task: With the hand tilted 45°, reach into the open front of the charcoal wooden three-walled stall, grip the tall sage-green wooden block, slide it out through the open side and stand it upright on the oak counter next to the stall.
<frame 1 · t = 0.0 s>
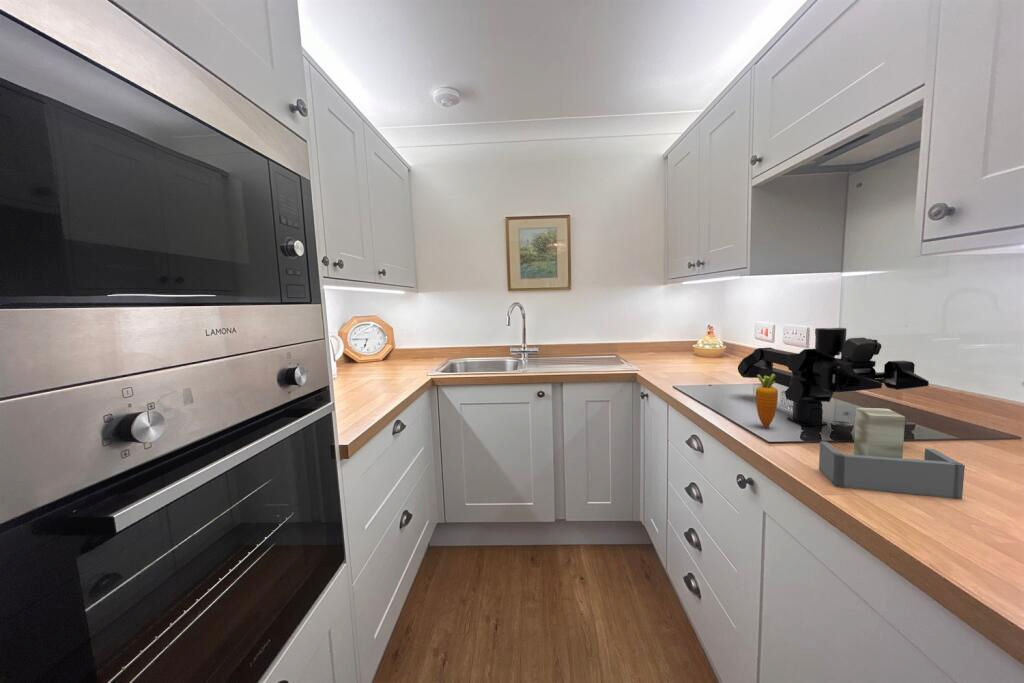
hand: (904, 384, 75), 17 cm above the table, tool horizontal, fingers open, 9 cm apart
sage block: (877, 444, 71), in the stall
stall: (875, 476, 71), on the table
carrot: (766, 428, 99), on the table
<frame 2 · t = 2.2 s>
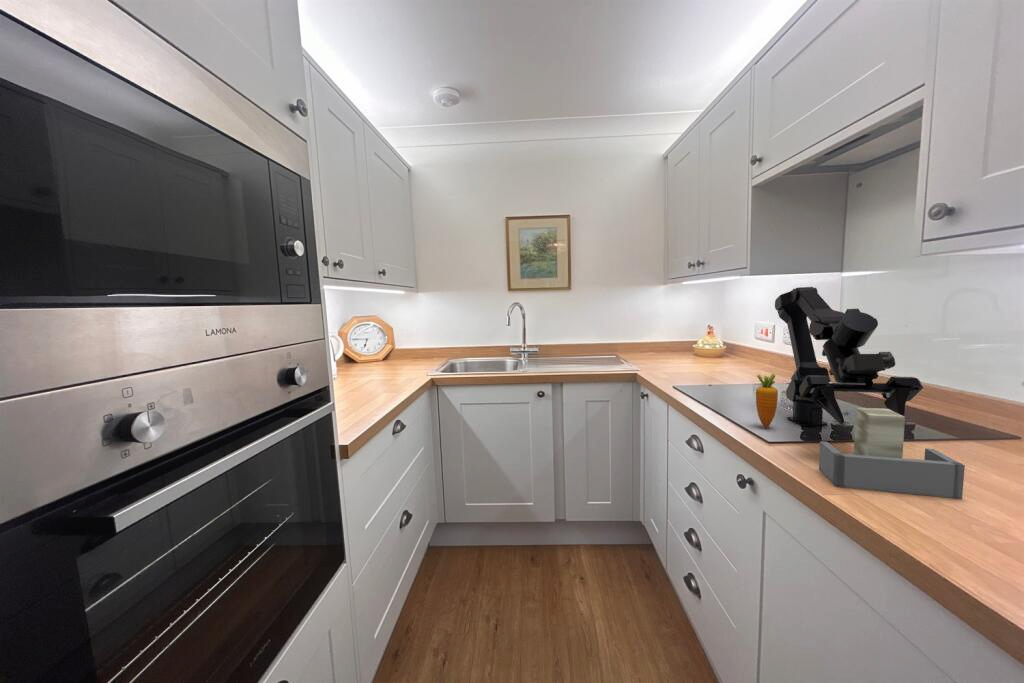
hand: (871, 424, 73), 10 cm above the table, tool tilted 45°, fingers open, 9 cm apart
nothing on the table moved.
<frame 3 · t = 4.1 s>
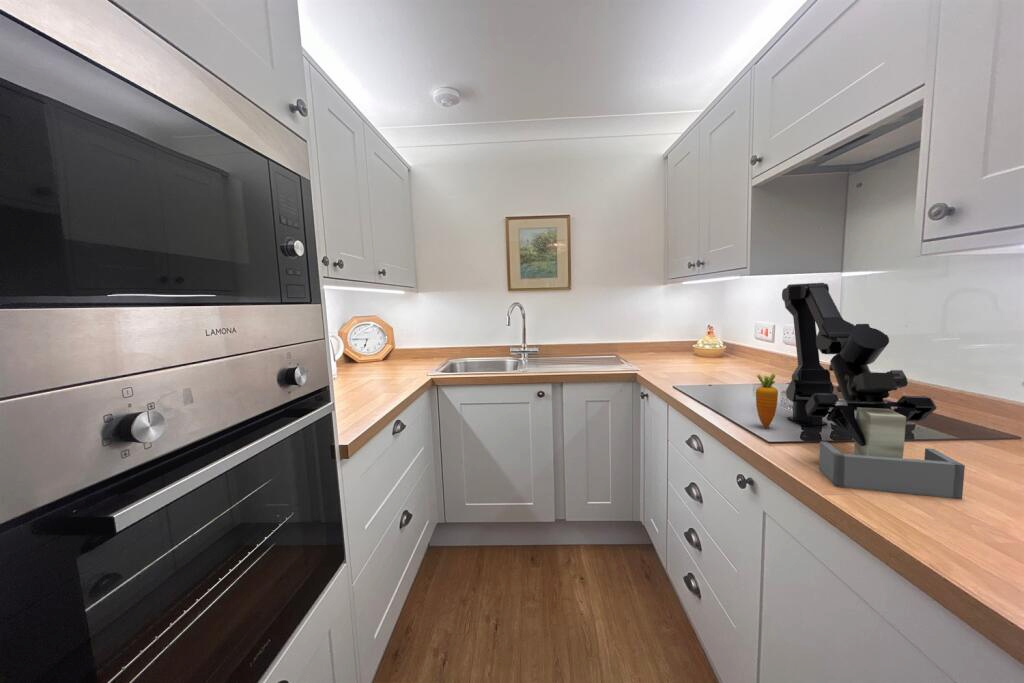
hand: (881, 446, 69), 7 cm above the table, tool tilted 45°, fingers closed on sage block, 5 cm apart
sage block: (878, 444, 71), in the stall, touching gripper
everything else where it was.
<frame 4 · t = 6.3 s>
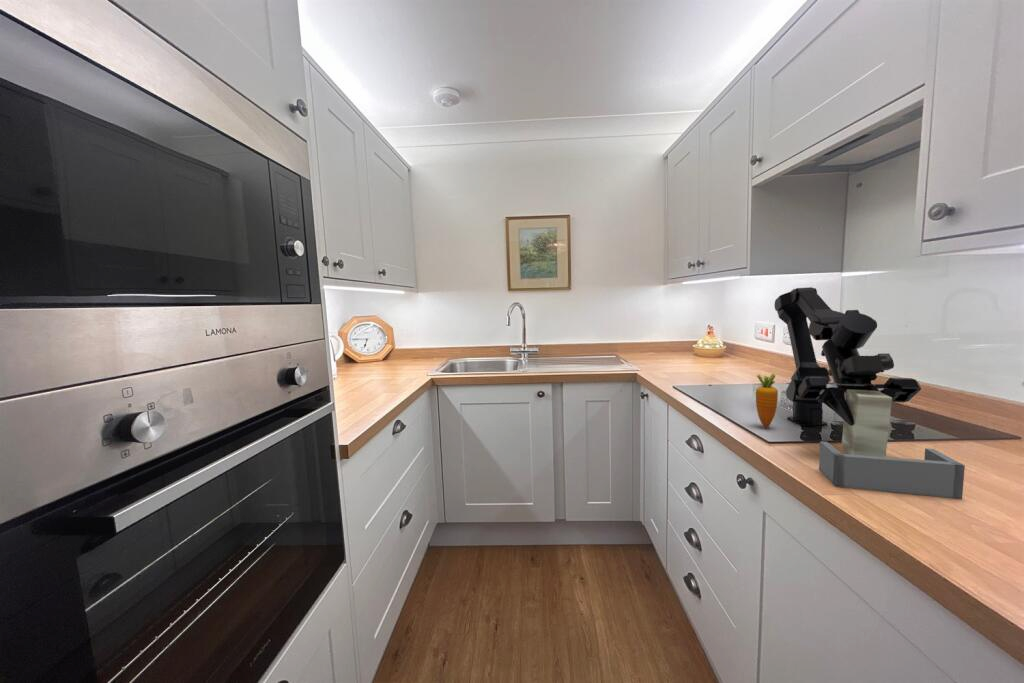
hand: (869, 425, 73), 9 cm above the table, tool tilted 45°, fingers closed on sage block, 5 cm apart
sage block: (865, 424, 75), point 9 cm above the table, touching gripper
everything else where it was.
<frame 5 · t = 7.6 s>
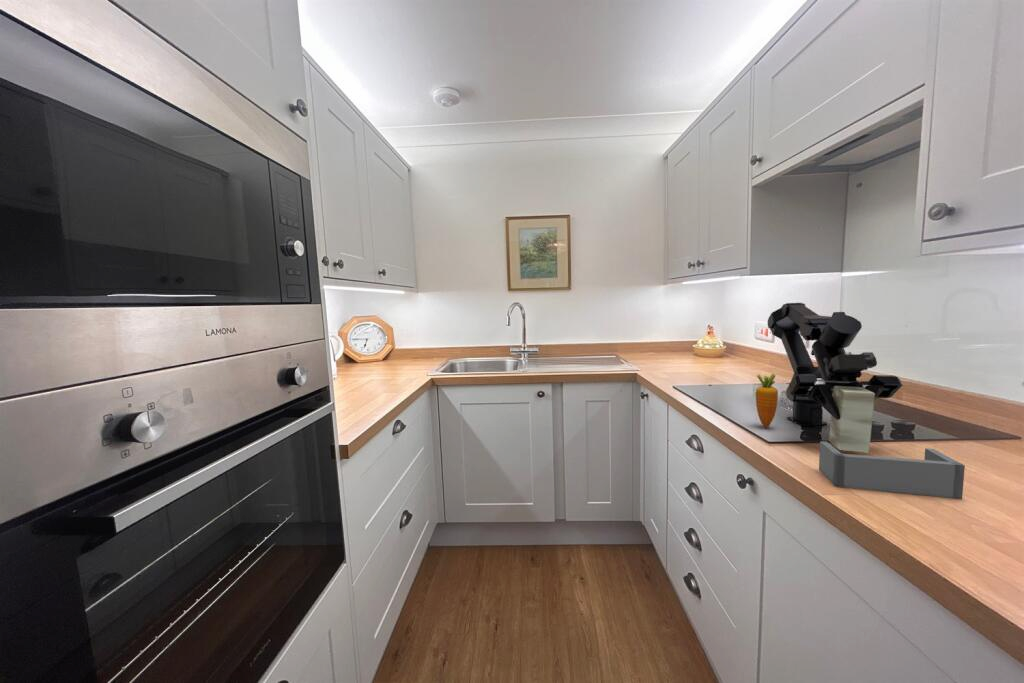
hand: (854, 419, 79), 9 cm above the table, tool tilted 45°, fingers closed on sage block, 5 cm apart
sage block: (850, 418, 80), point 8 cm above the table, touching gripper
everything else where it was.
when the fingers open (7 cm above the table, at t = 8.6 s): sage block stays where it is, on the table.
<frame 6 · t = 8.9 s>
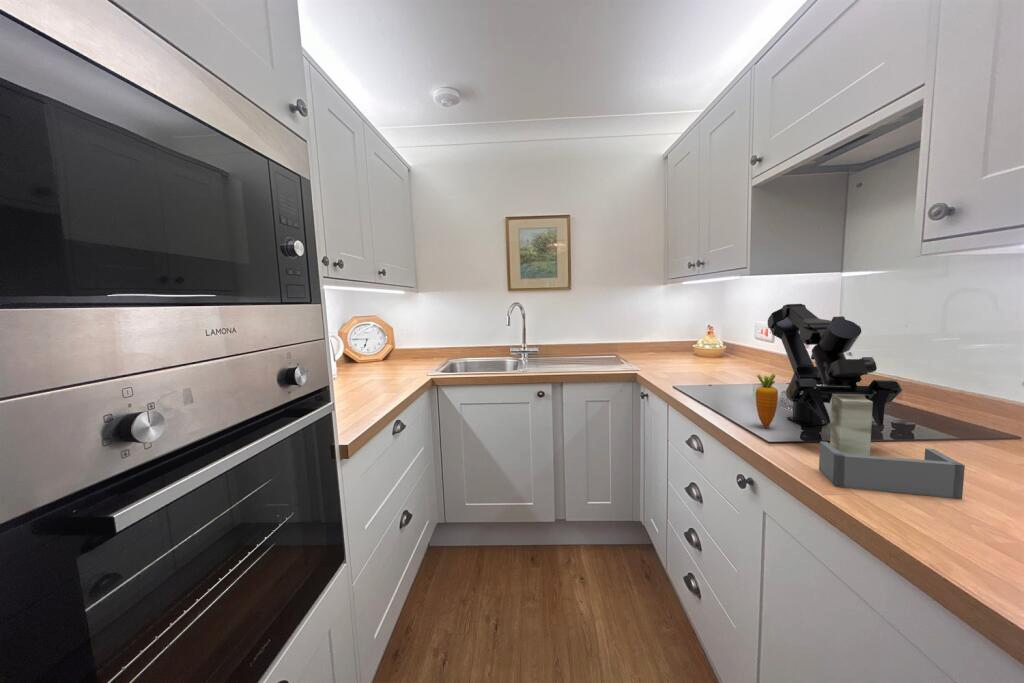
hand: (854, 424, 79), 8 cm above the table, tool tilted 45°, fingers open, 9 cm apart
sage block: (850, 427, 80), on the table
everything else where it was.
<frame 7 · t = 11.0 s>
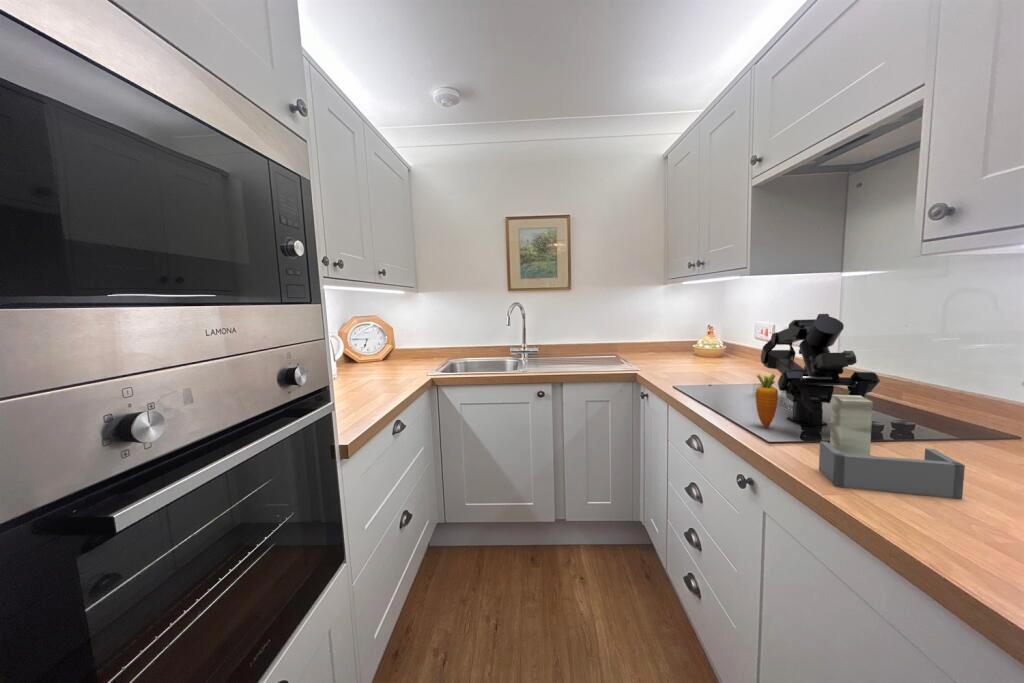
hand: (836, 412, 86), 8 cm above the table, tool tilted 45°, fingers open, 9 cm apart
nothing on the table moved.
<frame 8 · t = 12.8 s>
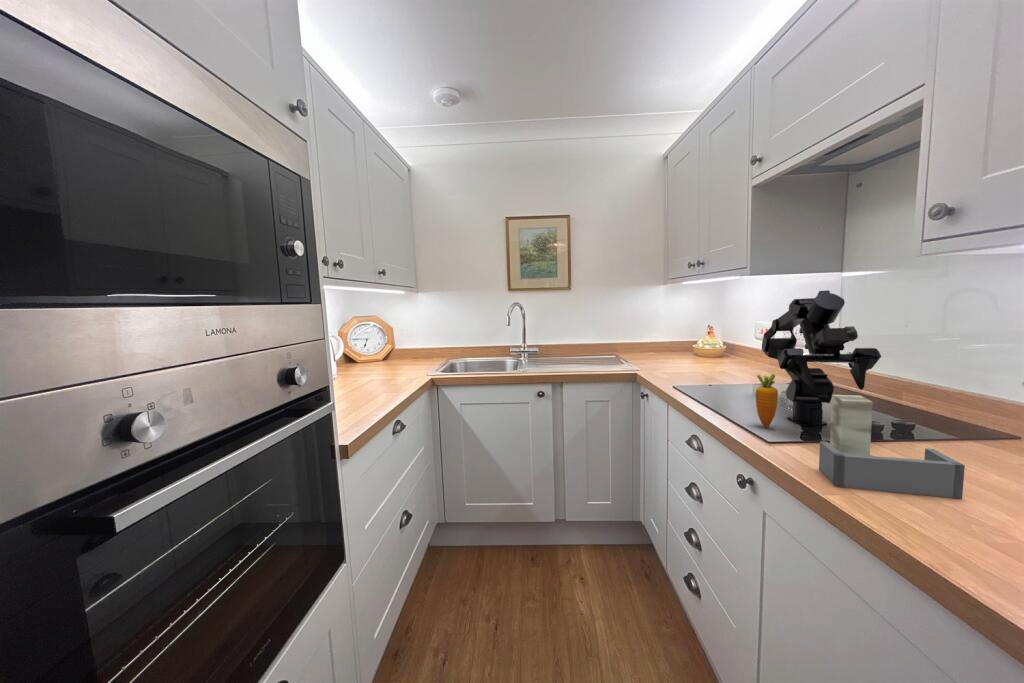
hand: (837, 388, 85), 14 cm above the table, tool tilted 45°, fingers open, 9 cm apart
nothing on the table moved.
at the end: sage block inside the target area (0.1 cm from its centre), on the table; sage block tilted 0°; the gripper is holding nothing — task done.
